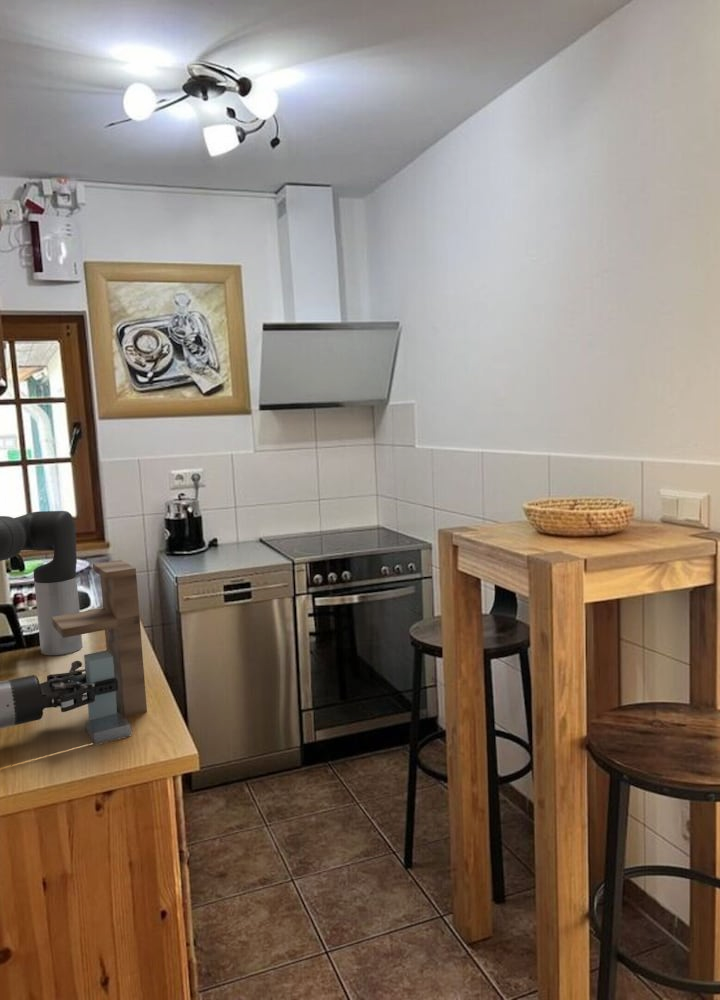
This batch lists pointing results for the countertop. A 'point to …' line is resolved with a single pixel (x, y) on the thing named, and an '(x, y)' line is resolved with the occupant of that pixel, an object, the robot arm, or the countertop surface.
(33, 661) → the countertop surface
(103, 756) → the countertop surface
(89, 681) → the block
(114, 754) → the countertop surface
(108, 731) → the grey square block
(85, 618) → the brown tall blocky piece
